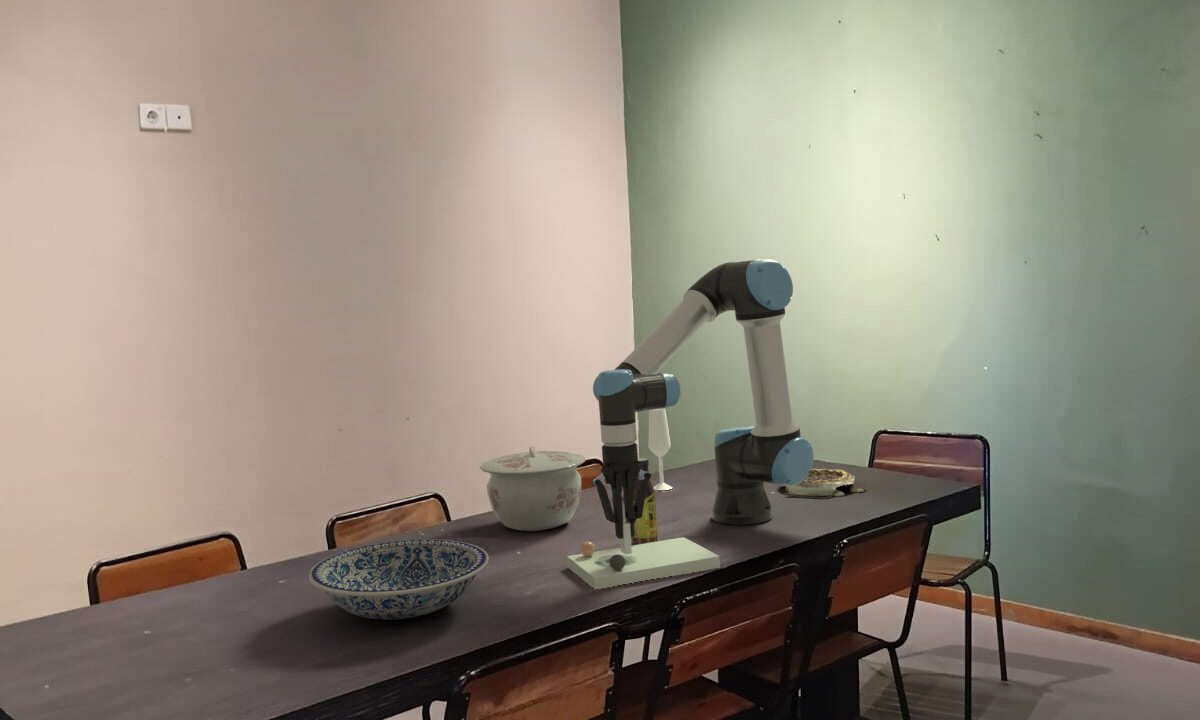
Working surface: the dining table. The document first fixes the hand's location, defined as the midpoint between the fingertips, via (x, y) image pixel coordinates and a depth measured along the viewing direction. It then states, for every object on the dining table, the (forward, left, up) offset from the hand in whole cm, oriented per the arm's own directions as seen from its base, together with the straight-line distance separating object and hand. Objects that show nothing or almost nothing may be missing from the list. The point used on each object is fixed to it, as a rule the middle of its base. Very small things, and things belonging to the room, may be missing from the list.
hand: (626, 552), depth 203 cm
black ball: (+4, +6, 0) cm, 8 cm away
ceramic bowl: (+47, +1, -4) cm, 48 cm away
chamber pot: (+5, -50, -4) cm, 50 cm away
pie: (-75, -44, -5) cm, 88 cm away
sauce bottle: (-12, -18, -4) cm, 22 cm away
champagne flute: (-39, -70, -4) cm, 80 cm away
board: (-4, 0, -4) cm, 5 cm away
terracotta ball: (+6, -7, 0) cm, 9 cm away
